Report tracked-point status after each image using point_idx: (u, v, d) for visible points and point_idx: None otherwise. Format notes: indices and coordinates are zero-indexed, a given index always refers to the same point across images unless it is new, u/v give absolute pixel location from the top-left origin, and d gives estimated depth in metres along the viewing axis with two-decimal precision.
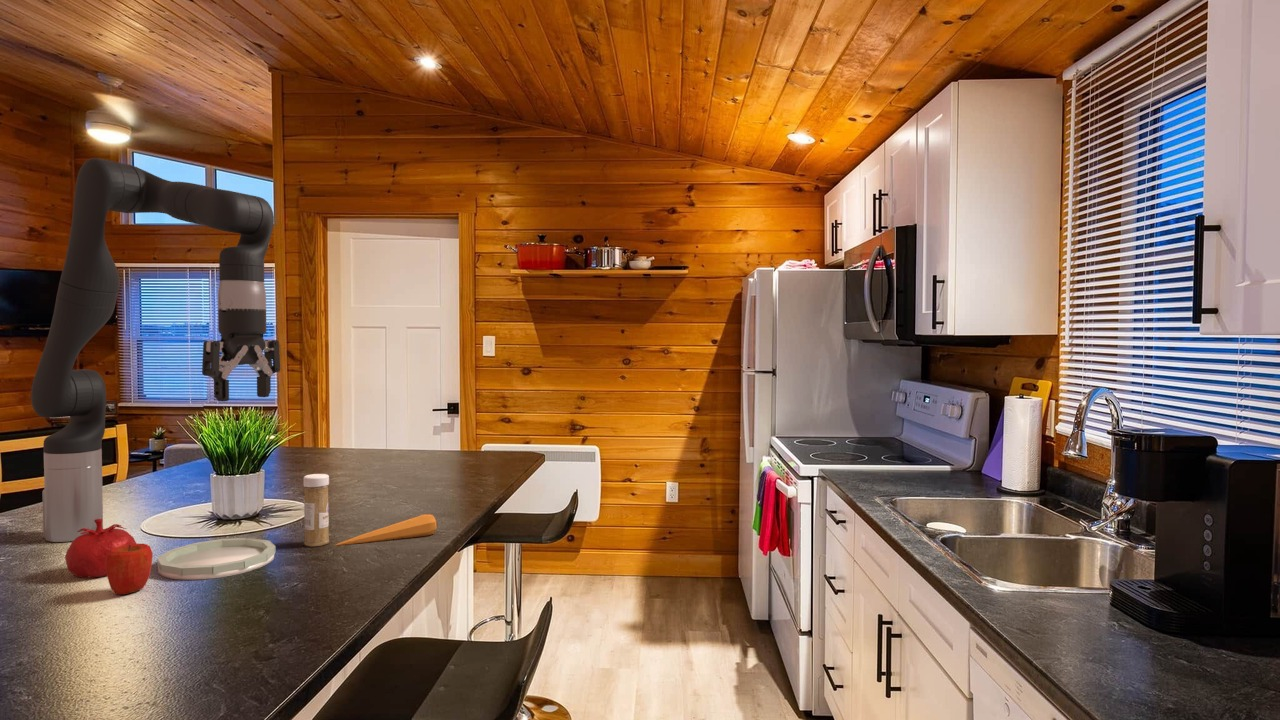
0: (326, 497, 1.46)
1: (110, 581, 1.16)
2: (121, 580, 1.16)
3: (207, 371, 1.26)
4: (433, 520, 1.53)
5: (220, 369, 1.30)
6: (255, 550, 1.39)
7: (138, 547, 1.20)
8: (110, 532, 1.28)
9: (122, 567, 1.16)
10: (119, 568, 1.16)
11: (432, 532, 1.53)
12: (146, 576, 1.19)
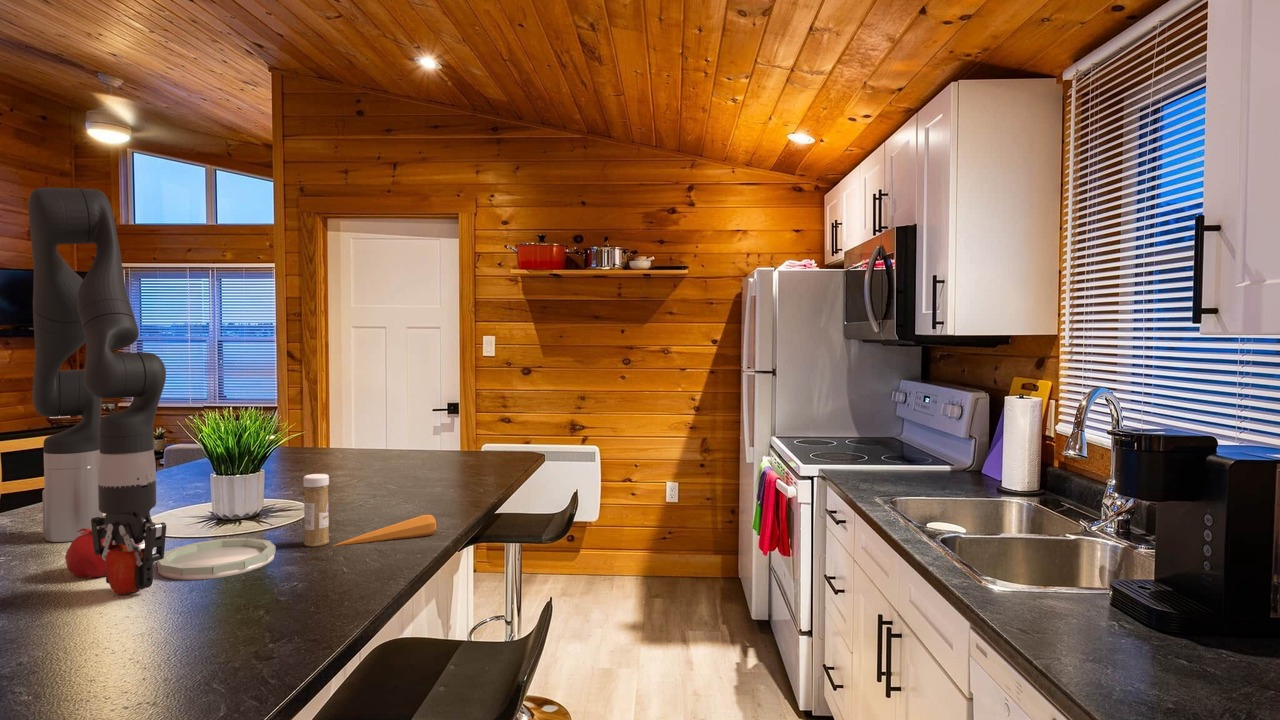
0: (326, 497, 1.46)
1: (110, 581, 1.16)
2: (121, 580, 1.16)
3: (156, 557, 1.16)
4: (433, 520, 1.53)
5: None
6: (255, 550, 1.39)
7: None
8: None
9: (122, 567, 1.16)
10: (119, 568, 1.16)
11: (432, 532, 1.53)
12: None
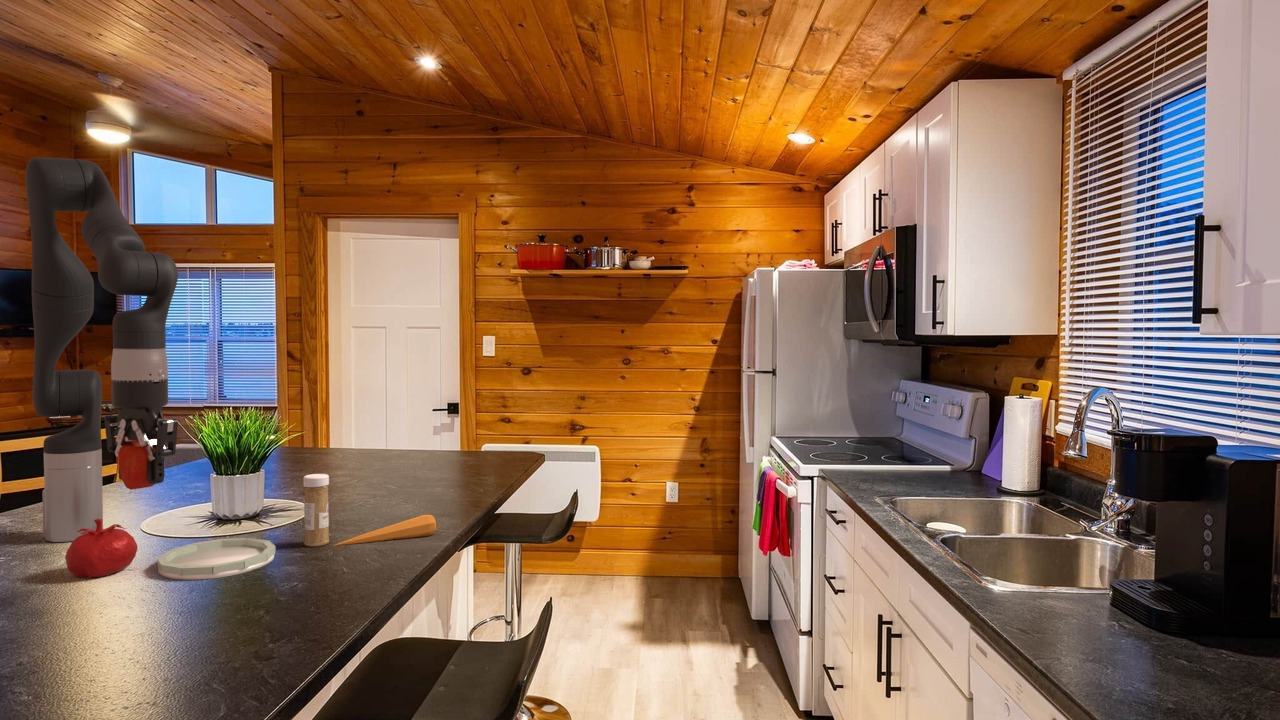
0: (326, 497, 1.46)
1: (122, 475, 1.18)
2: (134, 474, 1.18)
3: (167, 452, 1.18)
4: (433, 520, 1.53)
5: None
6: (255, 550, 1.39)
7: None
8: (110, 532, 1.28)
9: (134, 461, 1.17)
10: (131, 462, 1.17)
11: (432, 532, 1.53)
12: None
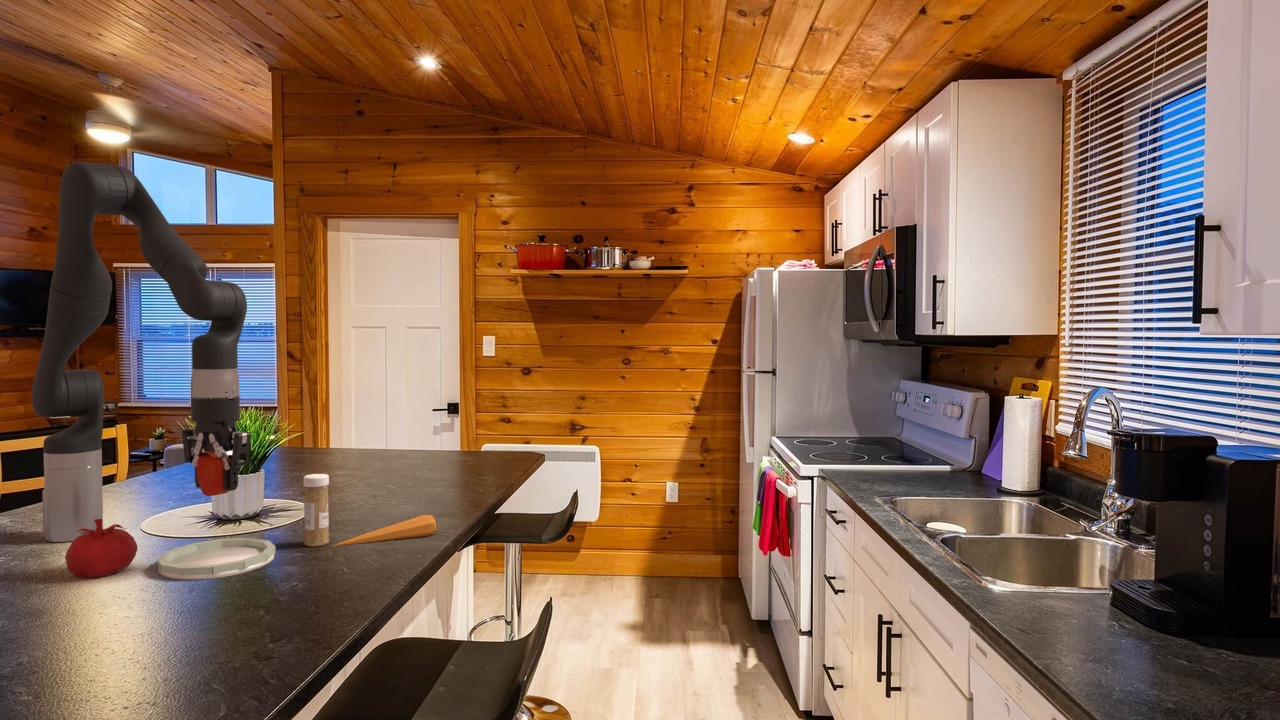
0: (326, 497, 1.46)
1: (201, 483, 1.31)
2: (211, 482, 1.30)
3: (242, 462, 1.31)
4: (433, 521, 1.53)
5: None
6: (255, 550, 1.39)
7: None
8: (110, 532, 1.28)
9: (212, 470, 1.30)
10: (210, 471, 1.30)
11: (432, 533, 1.53)
12: None
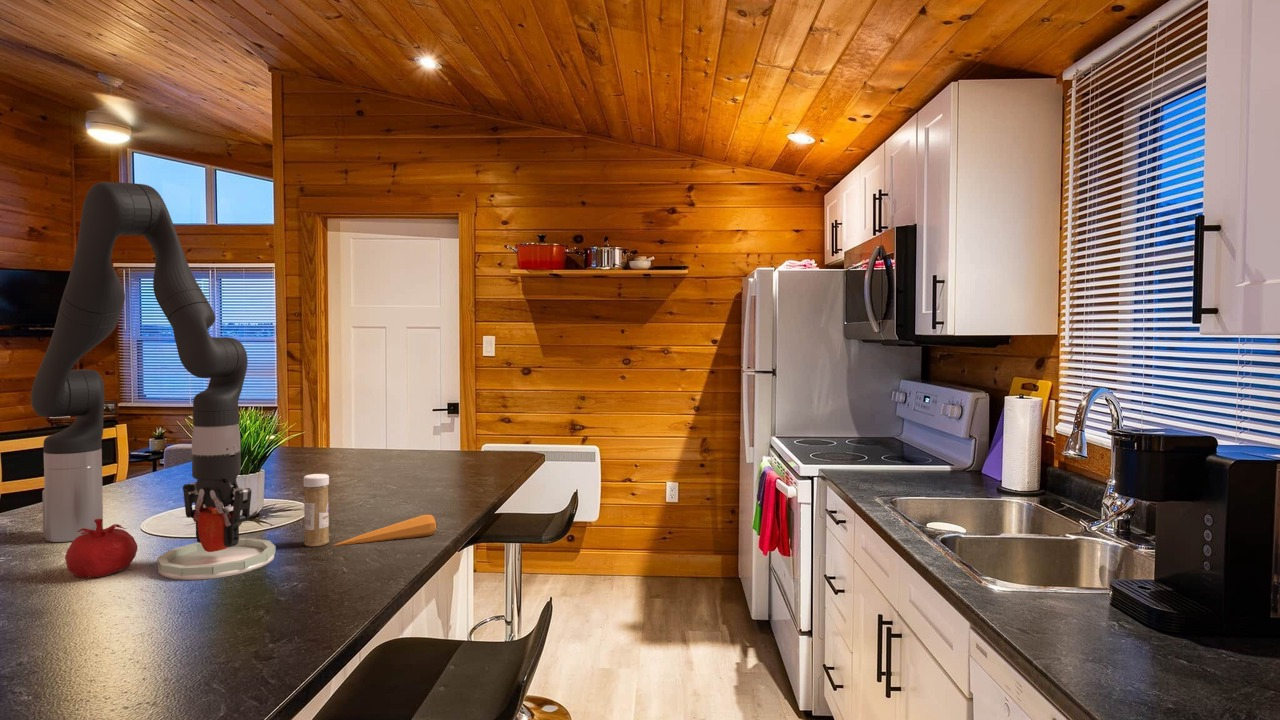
0: (326, 497, 1.46)
1: (202, 540, 1.31)
2: (212, 539, 1.31)
3: (242, 518, 1.31)
4: (433, 520, 1.53)
5: None
6: (255, 550, 1.39)
7: None
8: (110, 532, 1.28)
9: (213, 527, 1.31)
10: (211, 528, 1.30)
11: (432, 532, 1.53)
12: None
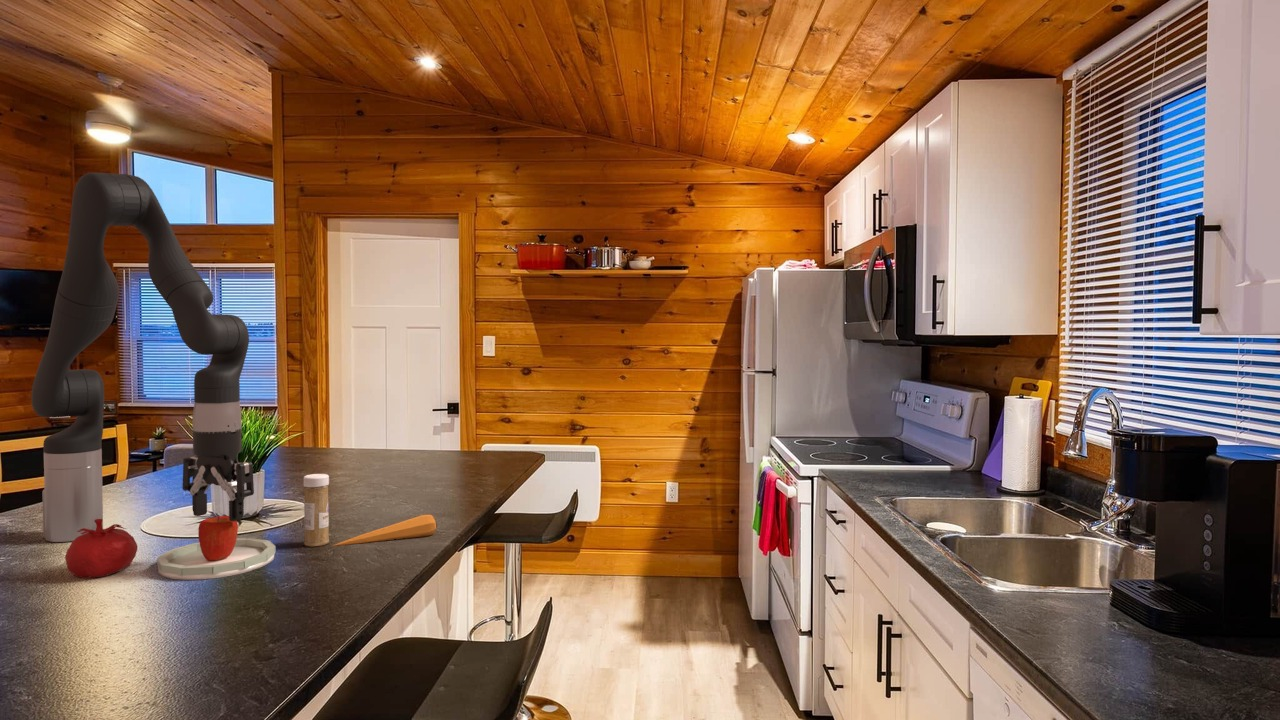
0: (326, 497, 1.46)
1: (203, 548, 1.31)
2: (213, 548, 1.31)
3: (247, 492, 1.31)
4: (432, 520, 1.53)
5: None
6: (255, 550, 1.39)
7: (225, 519, 1.35)
8: (110, 532, 1.28)
9: (214, 536, 1.30)
10: (212, 536, 1.30)
11: (431, 532, 1.53)
12: (233, 544, 1.34)
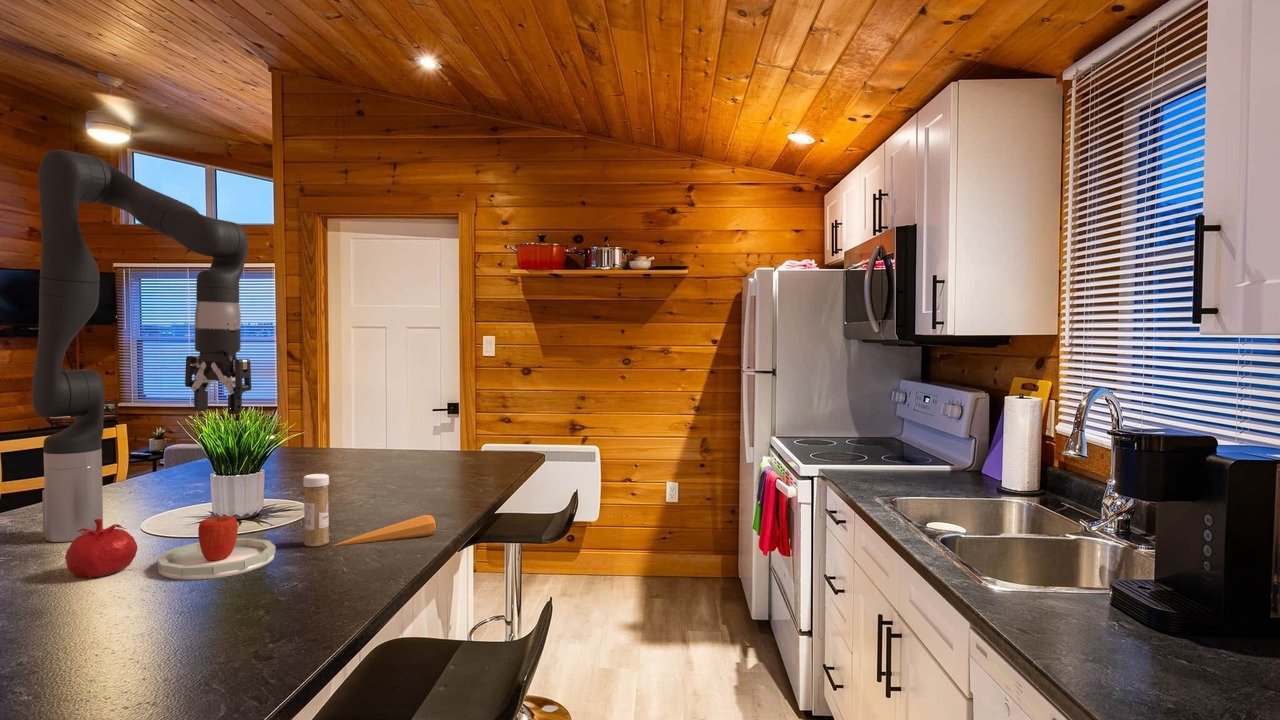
0: (326, 497, 1.46)
1: (203, 548, 1.31)
2: (213, 548, 1.31)
3: (245, 387, 1.39)
4: (432, 521, 1.53)
5: None
6: (255, 550, 1.39)
7: (225, 519, 1.35)
8: (110, 532, 1.28)
9: (214, 536, 1.30)
10: (212, 536, 1.30)
11: (431, 533, 1.53)
12: (233, 544, 1.34)
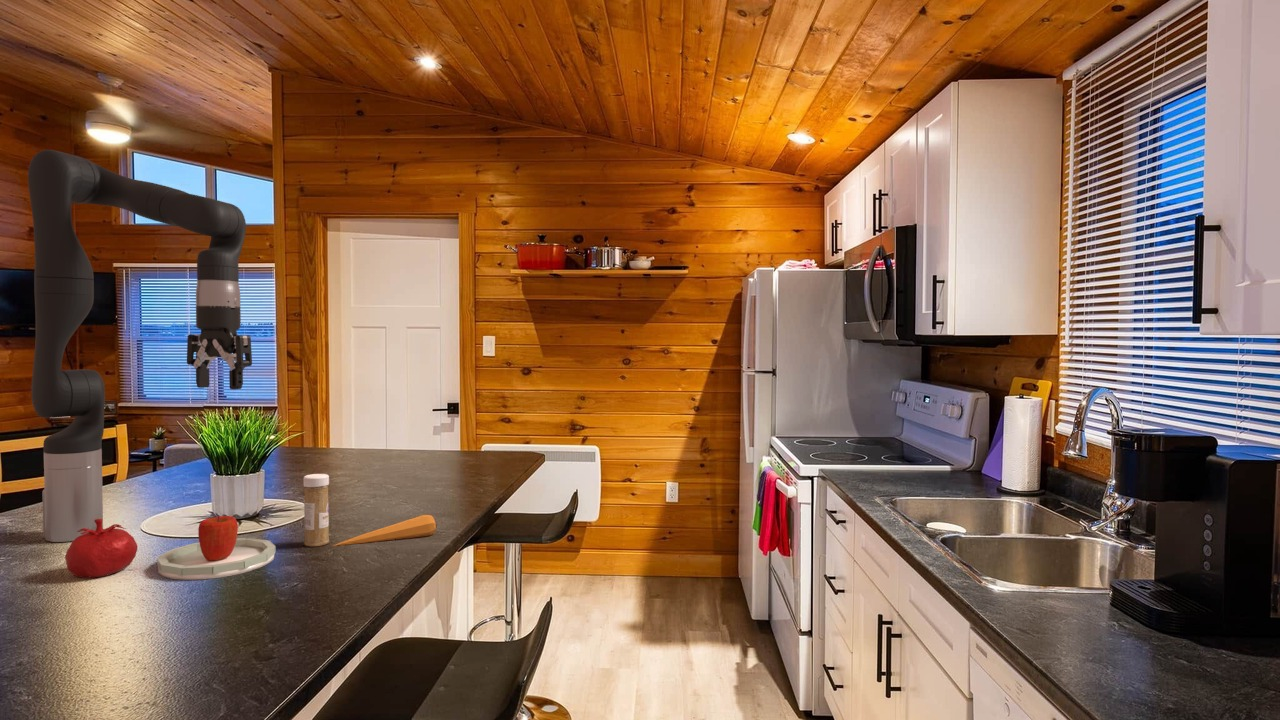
0: (326, 497, 1.46)
1: (203, 548, 1.31)
2: (213, 548, 1.31)
3: (246, 362, 1.43)
4: (432, 521, 1.53)
5: None
6: (255, 550, 1.39)
7: (225, 519, 1.35)
8: (110, 532, 1.28)
9: (214, 536, 1.30)
10: (212, 536, 1.30)
11: (431, 533, 1.53)
12: (233, 544, 1.34)
